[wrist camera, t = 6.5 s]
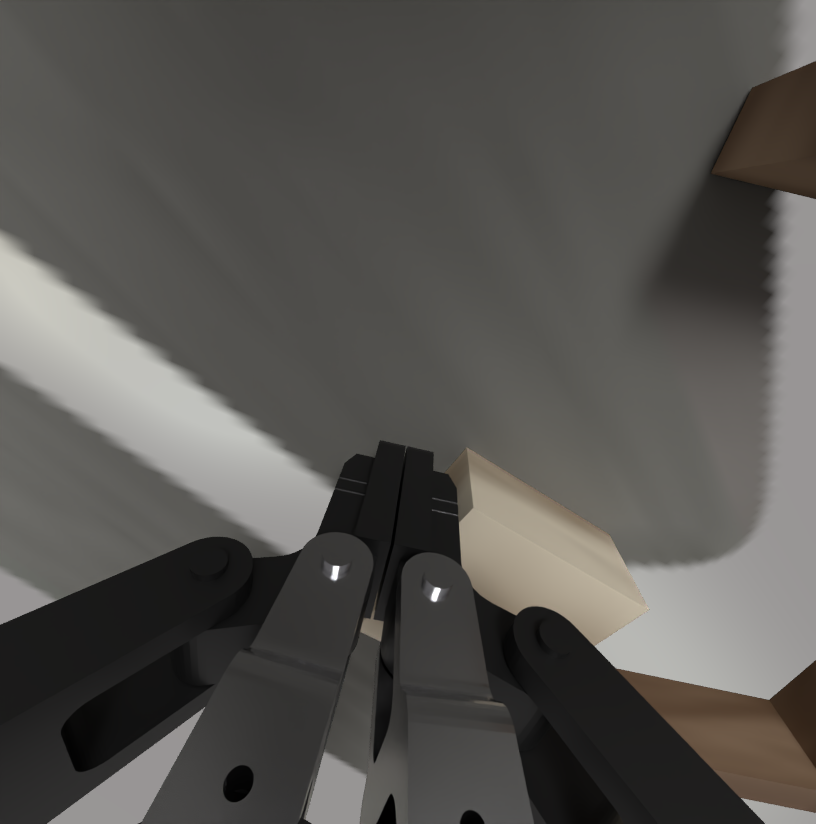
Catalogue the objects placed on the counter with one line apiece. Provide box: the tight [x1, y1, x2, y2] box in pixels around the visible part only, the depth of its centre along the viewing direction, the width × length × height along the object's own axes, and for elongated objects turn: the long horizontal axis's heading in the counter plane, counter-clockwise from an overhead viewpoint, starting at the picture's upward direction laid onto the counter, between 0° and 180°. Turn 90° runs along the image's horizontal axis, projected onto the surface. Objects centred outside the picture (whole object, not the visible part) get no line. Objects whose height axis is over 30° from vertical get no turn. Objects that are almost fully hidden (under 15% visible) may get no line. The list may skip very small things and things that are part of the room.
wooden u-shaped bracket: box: [617, 62, 816, 813], centre depth 11 cm, size 20×14×3 cm
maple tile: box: [360, 448, 649, 646], centre depth 13 cm, size 6×6×3 cm
